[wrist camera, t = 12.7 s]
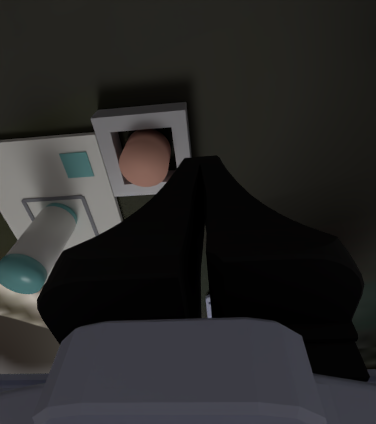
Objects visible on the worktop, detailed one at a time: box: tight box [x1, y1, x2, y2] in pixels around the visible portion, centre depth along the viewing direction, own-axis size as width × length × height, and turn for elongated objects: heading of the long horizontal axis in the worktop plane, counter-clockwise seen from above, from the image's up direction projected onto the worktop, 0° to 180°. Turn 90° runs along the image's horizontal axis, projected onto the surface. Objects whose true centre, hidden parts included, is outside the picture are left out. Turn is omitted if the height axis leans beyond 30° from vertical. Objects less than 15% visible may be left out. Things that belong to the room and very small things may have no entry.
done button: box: [119, 129, 171, 187], centre depth 20 cm, size 3×3×2 cm
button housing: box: [91, 102, 192, 197], centre depth 21 cm, size 6×6×2 cm
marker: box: [0, 203, 77, 294], centre depth 22 cm, size 3×3×7 cm
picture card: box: [0, 132, 123, 284], centre depth 26 cm, size 16×10×1 cm, turn 6°
